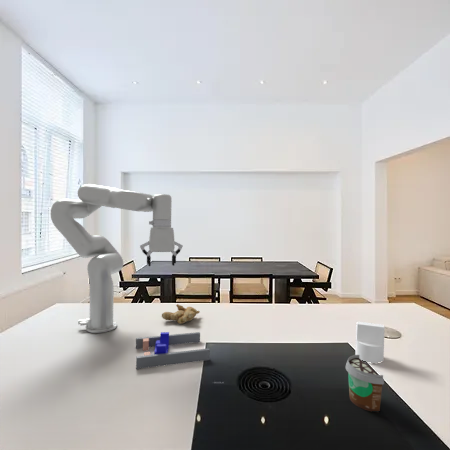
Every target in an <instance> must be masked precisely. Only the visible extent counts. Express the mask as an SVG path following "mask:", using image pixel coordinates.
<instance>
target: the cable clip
mask: <svg viewBox="0 0 450 450" xmlns="http://www.w3.org/2000/svg"><path fill="white" fill-rule="evenodd" d="M169 335H170V331H167V332H166V331H164V332H163V331H161V332H160V335H159V336H160V340H157V341H156V345H155V347H154V352H153V355H154V354H163V353H169V348H170V345H169Z"/></svg>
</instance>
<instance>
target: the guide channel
mask: <svg viewBox="0 0 450 450" xmlns="http://www.w3.org/2000/svg"><path fill="white" fill-rule="evenodd" d="M157 340H160V335H155V336H145V337H144V336H143V337H136V338H135V349H136V350H137V349H142V351H143V352H144V353H143V355H138V356H135V358H136V359H135V360H136V361H135V362H136V363H135V364H136V365H135V369H136V370H139V369H148V367H149V368H154V367H156V366H157V367H163V366H164V365H165V366H172V365H173V366H174V365H179V364H181V365H182V364H187V363H188V364H189V363H195V362H205V361H210V360H211V358H210V354H211V353H210V351H211V349H210V347H209V348H199V349H193V350H183V351H182V350H181V351H173V352H168V353H163V354H154V353H153V354H151V351H149V350H150V348H155V345H156V341H157ZM200 342H201V332H200V331H197V332H196V331H195V332H187V333H175V334H169V346H173V345H174V346H175V345H185V344H194V343H200ZM157 367H156V368H157Z"/></svg>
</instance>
